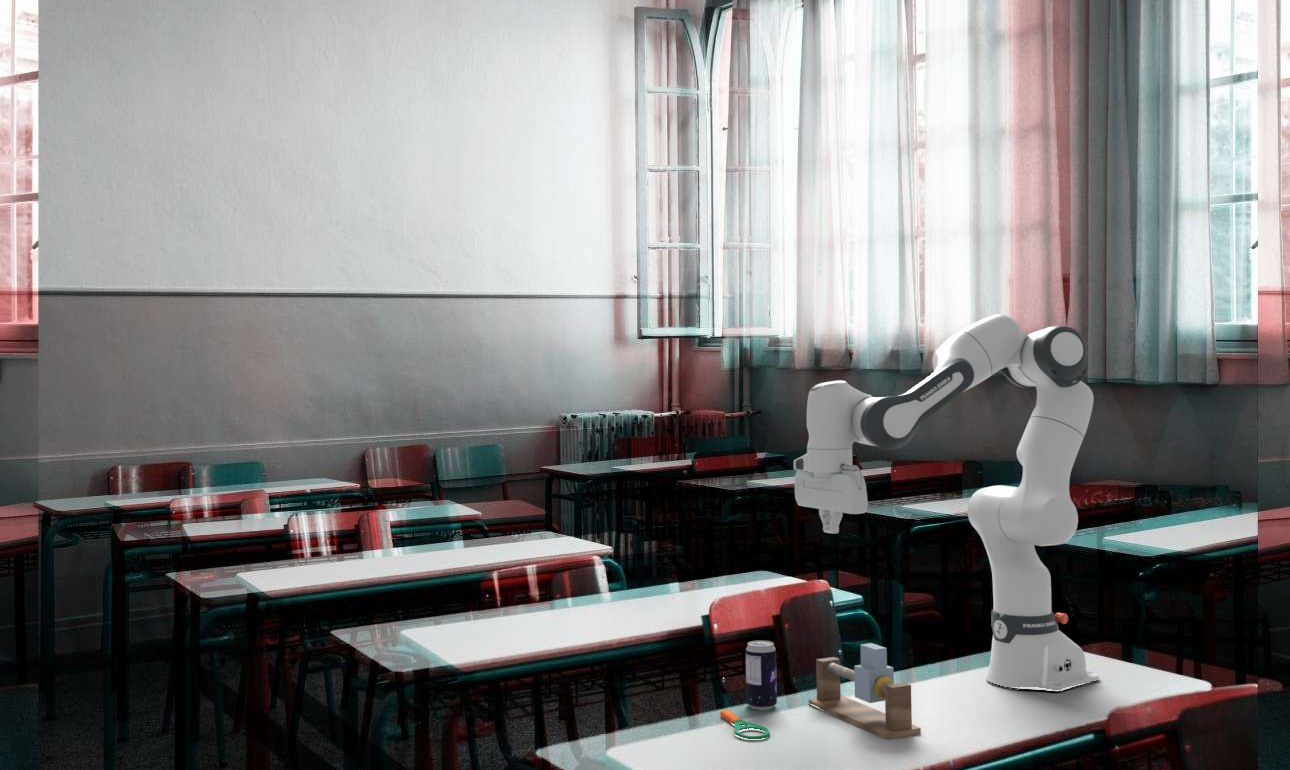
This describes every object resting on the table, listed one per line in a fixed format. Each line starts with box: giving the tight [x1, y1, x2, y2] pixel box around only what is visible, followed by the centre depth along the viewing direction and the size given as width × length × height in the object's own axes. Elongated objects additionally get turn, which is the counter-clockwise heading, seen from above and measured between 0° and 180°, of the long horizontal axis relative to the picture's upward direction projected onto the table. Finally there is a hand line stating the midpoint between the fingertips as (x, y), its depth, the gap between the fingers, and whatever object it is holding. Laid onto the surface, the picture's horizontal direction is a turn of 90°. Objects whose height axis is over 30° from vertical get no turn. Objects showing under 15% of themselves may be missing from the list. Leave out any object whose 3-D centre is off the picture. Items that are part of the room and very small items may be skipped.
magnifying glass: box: [720, 709, 771, 739], centre depth 201 cm, size 15×6×2 cm, turn 19°
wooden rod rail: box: [808, 656, 922, 740], centre depth 206 cm, size 24×7×9 cm, turn 25°
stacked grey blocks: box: [853, 642, 895, 704], centre depth 202 cm, size 4×5×9 cm
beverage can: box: [745, 640, 778, 711], centre depth 214 cm, size 6×6×12 cm
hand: (831, 532), depth 225 cm, fingers closed
